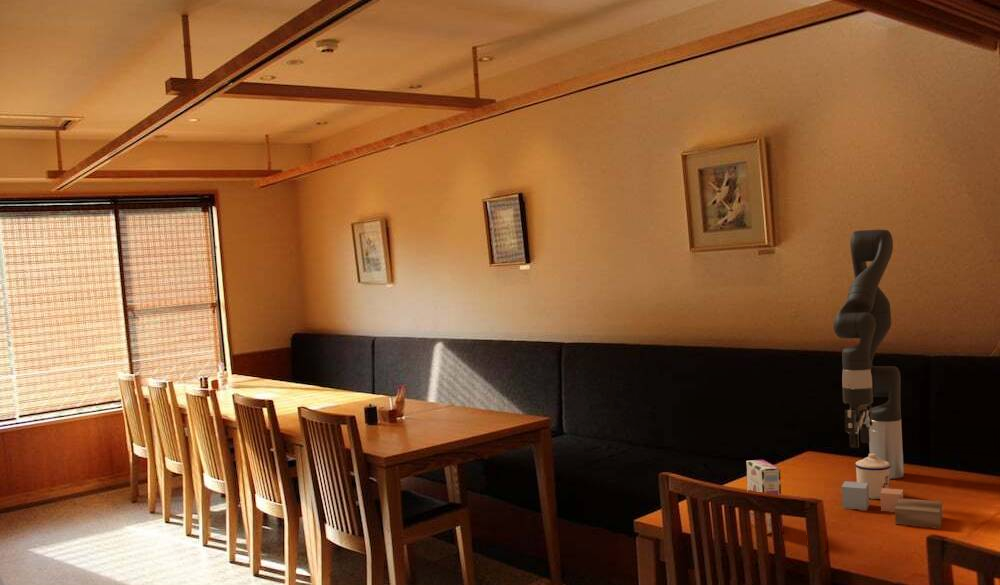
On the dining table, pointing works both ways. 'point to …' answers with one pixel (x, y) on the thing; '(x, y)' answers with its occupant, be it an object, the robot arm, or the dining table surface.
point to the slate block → (855, 495)
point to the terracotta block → (890, 498)
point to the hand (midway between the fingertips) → (859, 445)
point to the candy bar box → (763, 481)
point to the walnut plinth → (918, 513)
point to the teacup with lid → (873, 474)
